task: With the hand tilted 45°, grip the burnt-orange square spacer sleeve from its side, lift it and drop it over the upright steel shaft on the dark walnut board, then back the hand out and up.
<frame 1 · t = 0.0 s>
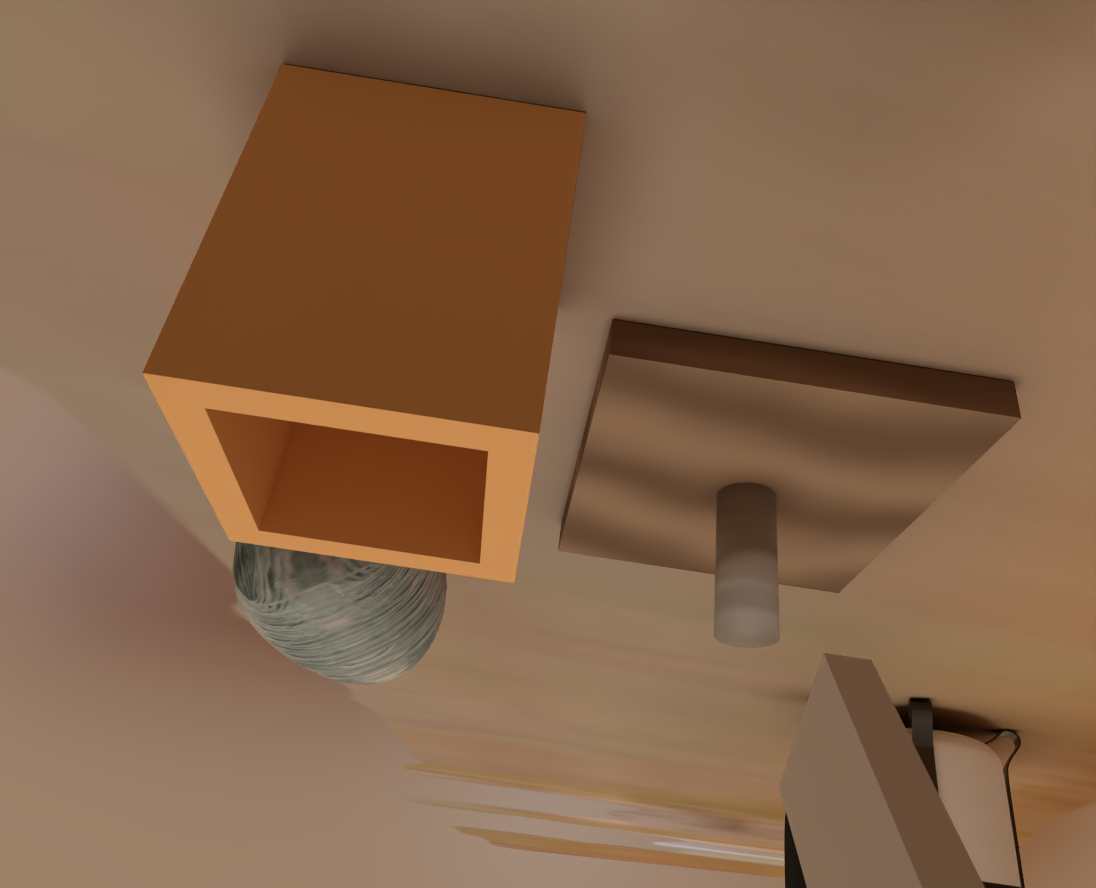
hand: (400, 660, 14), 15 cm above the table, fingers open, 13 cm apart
shaft stand: (746, 465, 36), on the table
grey green rounded lump: (367, 506, 45), on the table
coffee press: (892, 720, 65), on the table
spacer sleeve: (436, 203, 26), on the table
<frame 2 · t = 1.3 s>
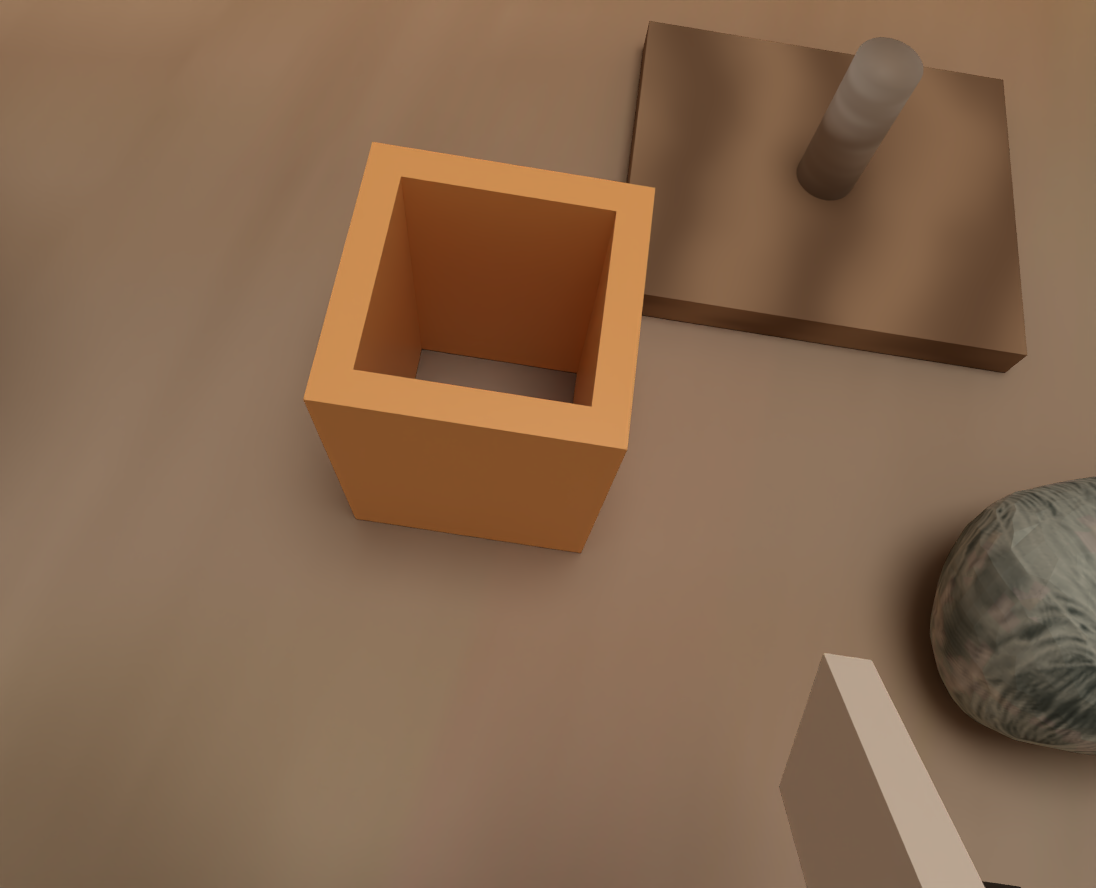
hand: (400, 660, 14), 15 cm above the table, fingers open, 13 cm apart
shaft stand: (812, 199, 37), on the table
grey green rounded lump: (1072, 630, 31), on the table
spacer sleeve: (486, 432, 32), on the table
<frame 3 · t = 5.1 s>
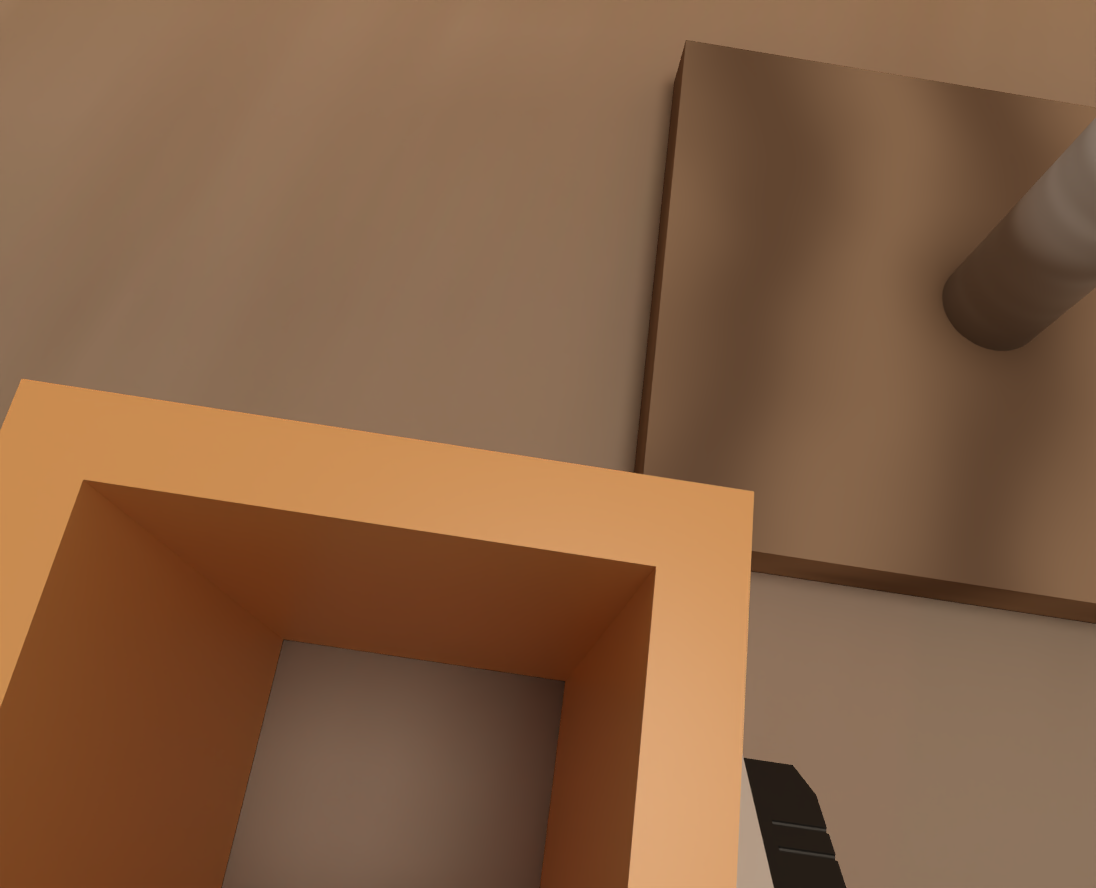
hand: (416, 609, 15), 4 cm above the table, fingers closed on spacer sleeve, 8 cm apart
shaft stand: (958, 337, 22), on the table
spacer sleeve: (396, 813, 17), on the table, touching gripper
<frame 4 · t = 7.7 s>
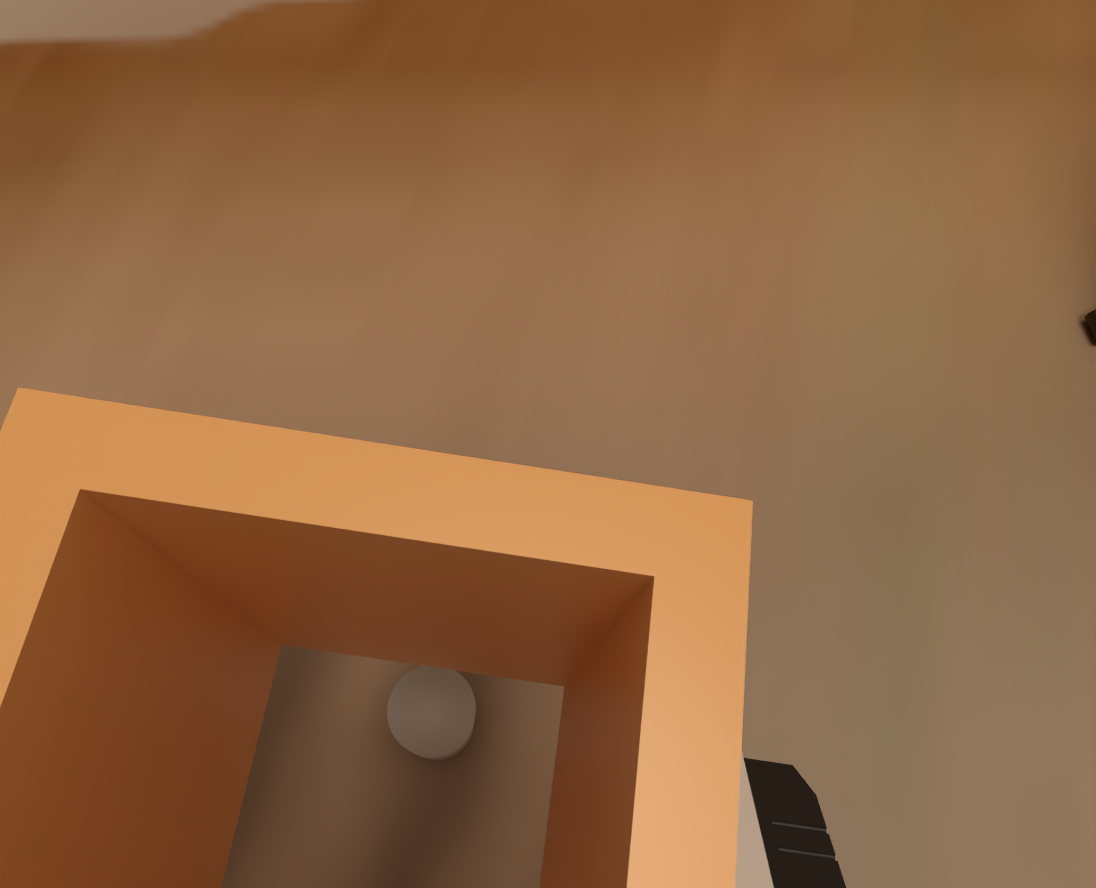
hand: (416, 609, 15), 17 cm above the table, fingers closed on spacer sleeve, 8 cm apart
shaft stand: (439, 726, 31), on the table
spacer sleeve: (394, 819, 17), point 14 cm above the table, touching gripper
when the fingers open (7 cm above the table, at t = 10.7 s): spacer sleeve drops 1 cm, resting on shaft stand.
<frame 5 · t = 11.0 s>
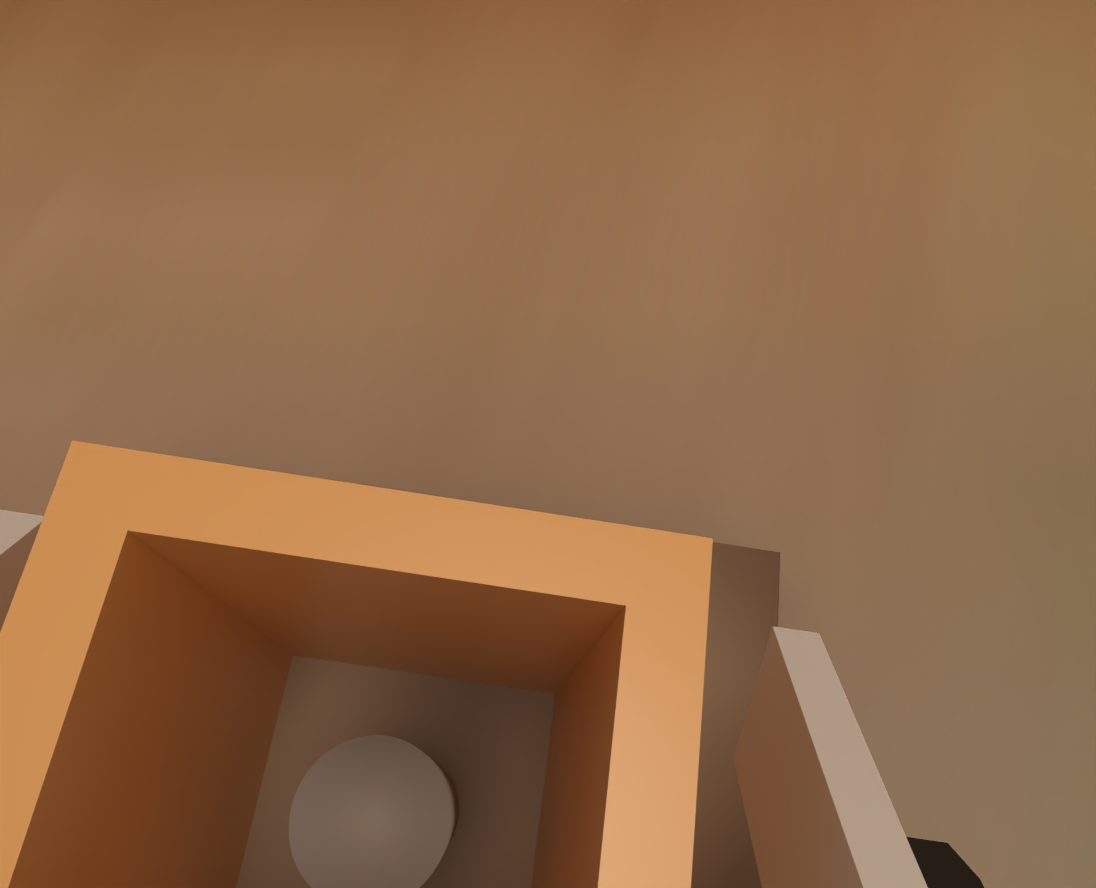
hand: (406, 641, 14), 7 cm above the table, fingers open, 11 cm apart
shaft stand: (407, 810, 20), on the table
spacer sleeve: (397, 817, 18), point 1 cm above the table, touching shaft stand
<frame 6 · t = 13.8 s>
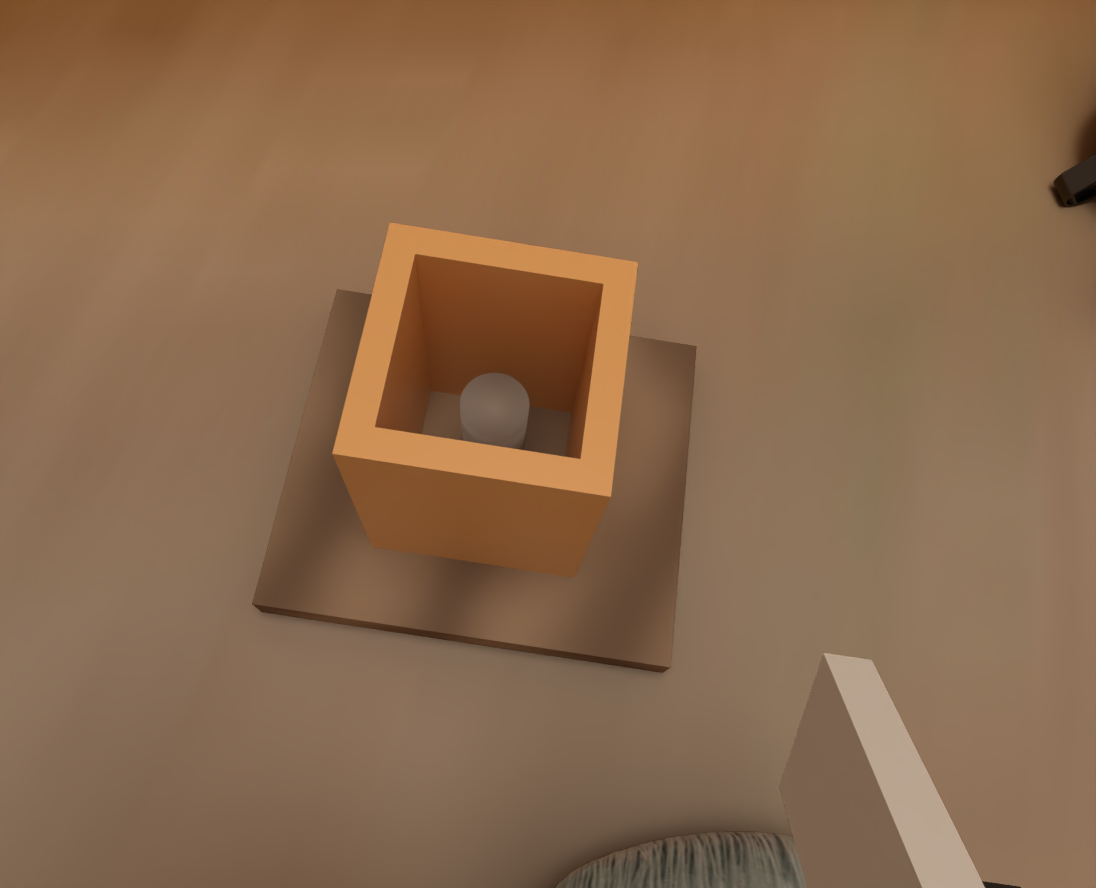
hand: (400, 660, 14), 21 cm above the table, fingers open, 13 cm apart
shaft stand: (491, 477, 37), on the table
spacer sleeve: (489, 467, 35), point 1 cm above the table, touching shaft stand
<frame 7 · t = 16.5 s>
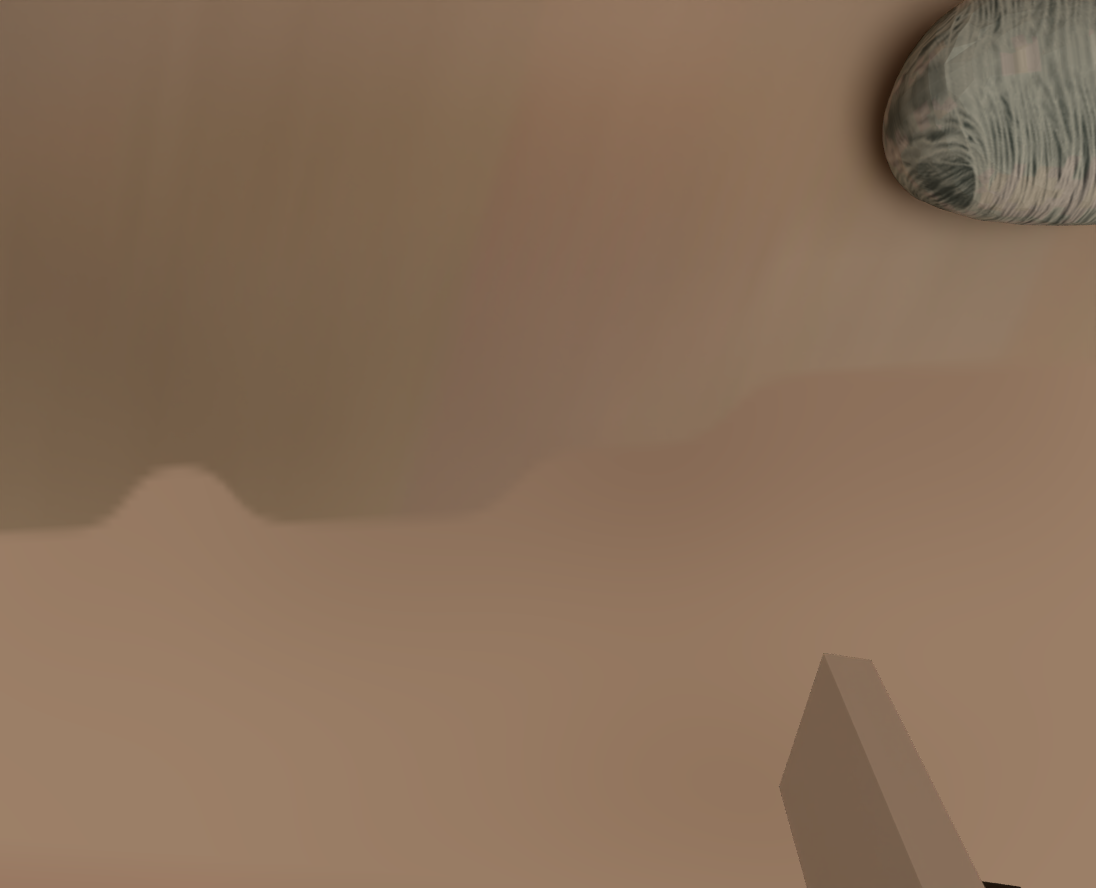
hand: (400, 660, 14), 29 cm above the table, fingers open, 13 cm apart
grey green rounded lump: (1025, 98, 37), on the table
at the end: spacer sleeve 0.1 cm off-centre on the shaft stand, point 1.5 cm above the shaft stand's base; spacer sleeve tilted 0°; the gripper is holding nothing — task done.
